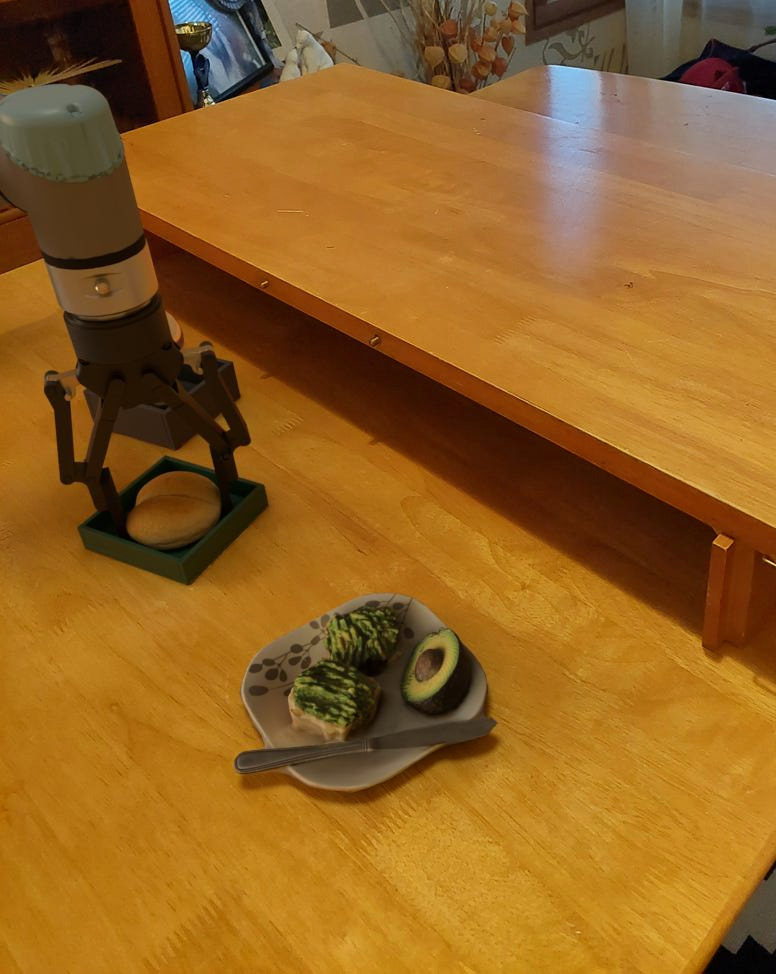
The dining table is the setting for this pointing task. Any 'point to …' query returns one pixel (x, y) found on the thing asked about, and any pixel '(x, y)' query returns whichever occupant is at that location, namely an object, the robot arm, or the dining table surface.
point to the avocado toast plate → (362, 694)
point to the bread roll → (174, 510)
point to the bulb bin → (169, 410)
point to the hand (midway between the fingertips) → (177, 519)
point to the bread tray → (183, 560)
